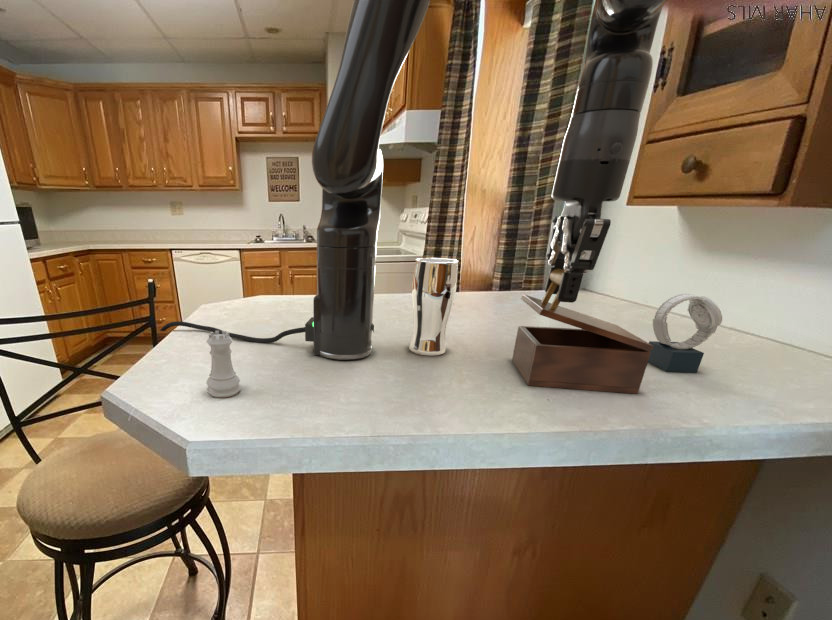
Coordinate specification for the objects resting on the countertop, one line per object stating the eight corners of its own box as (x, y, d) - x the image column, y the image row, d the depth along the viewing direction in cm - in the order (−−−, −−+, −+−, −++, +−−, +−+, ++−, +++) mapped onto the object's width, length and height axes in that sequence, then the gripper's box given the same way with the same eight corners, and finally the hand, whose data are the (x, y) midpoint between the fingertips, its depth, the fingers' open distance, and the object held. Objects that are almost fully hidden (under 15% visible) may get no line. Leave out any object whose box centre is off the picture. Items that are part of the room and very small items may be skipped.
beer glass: (403, 353, 71) (410, 261, 65) (410, 342, 77) (418, 257, 71) (445, 358, 69) (457, 263, 63) (450, 346, 75) (461, 259, 69)
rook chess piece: (224, 401, 53) (219, 340, 50) (199, 393, 55) (192, 334, 52) (248, 389, 57) (244, 331, 54) (223, 382, 59) (218, 326, 56)
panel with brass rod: (539, 314, 55) (562, 271, 52) (520, 298, 64) (539, 261, 62) (650, 351, 54) (679, 309, 51) (614, 330, 63) (637, 293, 61)
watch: (710, 373, 63) (739, 299, 59) (654, 371, 64) (678, 298, 60) (683, 360, 68) (708, 292, 64) (631, 359, 69) (652, 291, 65)
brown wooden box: (528, 385, 58) (536, 345, 56) (511, 360, 68) (518, 325, 66) (637, 394, 56) (651, 352, 54) (604, 366, 66) (615, 330, 63)
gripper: (544, 163, 59) (518, 287, 65) (581, 151, 46) (544, 306, 52) (603, 164, 57) (570, 290, 64) (659, 152, 44) (610, 311, 51)
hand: (559, 296), depth 58 cm, fingers closed on panel with brass rod, 5 cm apart
